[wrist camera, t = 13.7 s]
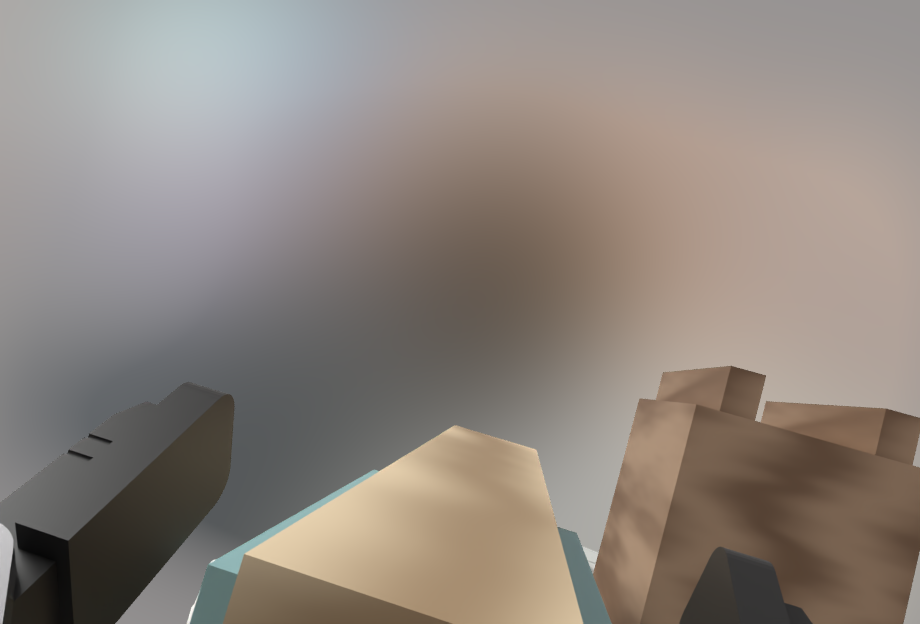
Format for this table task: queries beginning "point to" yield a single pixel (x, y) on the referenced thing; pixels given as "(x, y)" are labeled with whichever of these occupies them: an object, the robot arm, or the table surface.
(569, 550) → the teal tall block
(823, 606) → the walnut stand
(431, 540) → the oak block
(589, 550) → the table surface
